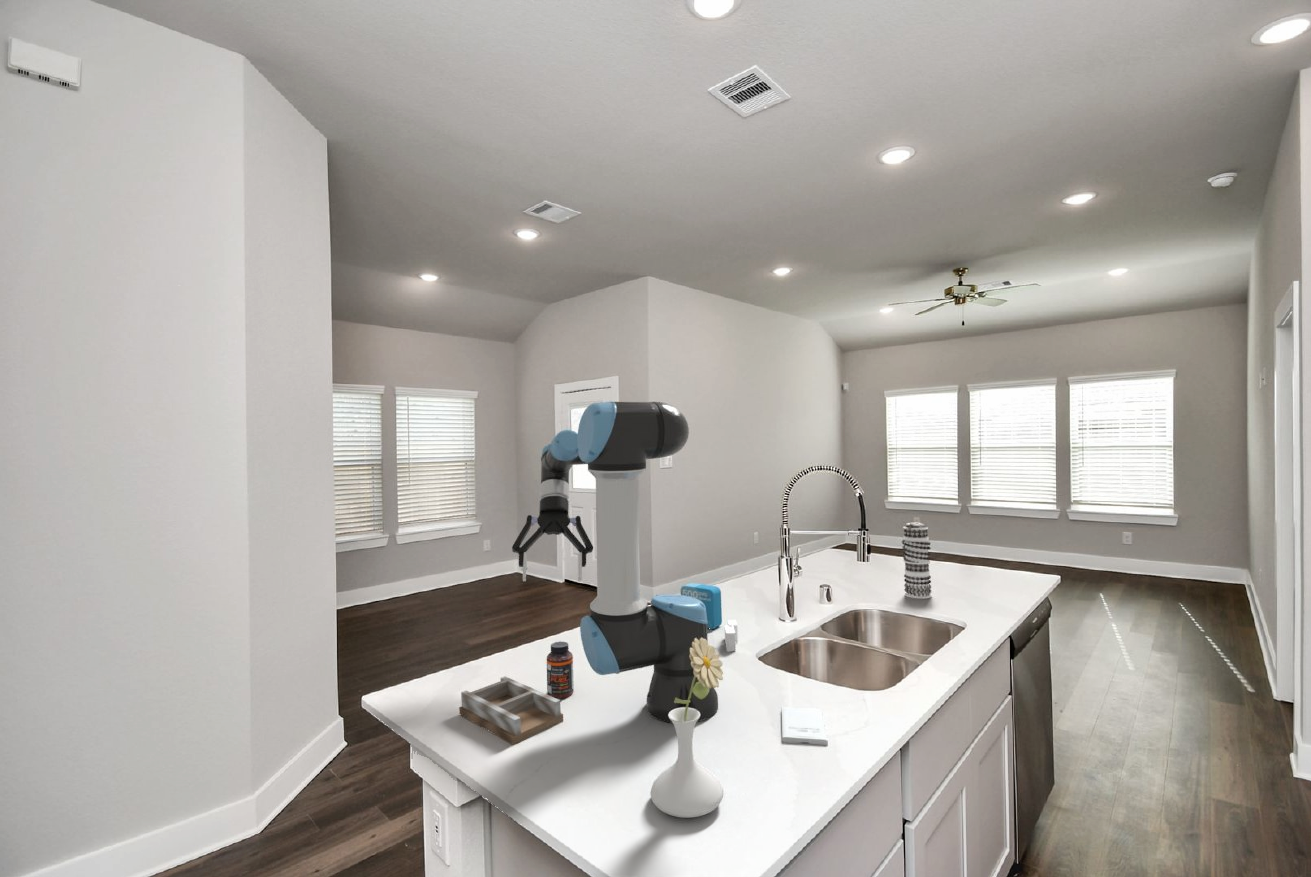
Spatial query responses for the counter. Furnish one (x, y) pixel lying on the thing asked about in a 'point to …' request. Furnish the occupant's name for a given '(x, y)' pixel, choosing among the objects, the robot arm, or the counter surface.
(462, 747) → the counter surface
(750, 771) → the counter surface
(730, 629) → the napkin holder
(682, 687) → the robot arm
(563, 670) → the supplement bottle
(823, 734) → the external hard drive
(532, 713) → the wooden divided tray
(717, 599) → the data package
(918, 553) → the decorative candle
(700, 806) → the flower in vase
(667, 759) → the counter surface
